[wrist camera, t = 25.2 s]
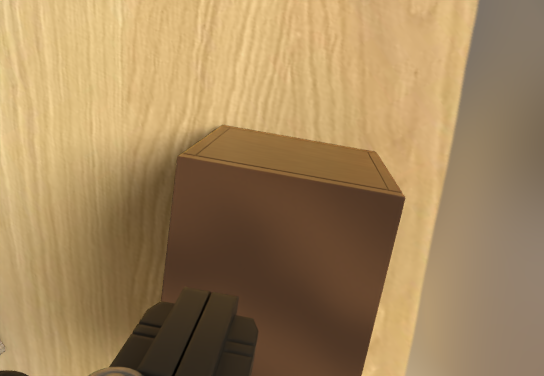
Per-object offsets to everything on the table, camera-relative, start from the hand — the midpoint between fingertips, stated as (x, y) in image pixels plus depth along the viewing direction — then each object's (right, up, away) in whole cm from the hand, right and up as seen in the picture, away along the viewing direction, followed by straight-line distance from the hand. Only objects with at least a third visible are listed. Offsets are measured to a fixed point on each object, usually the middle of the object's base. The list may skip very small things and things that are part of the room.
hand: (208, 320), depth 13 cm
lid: (+2, -2, +13) cm, 13 cm away
